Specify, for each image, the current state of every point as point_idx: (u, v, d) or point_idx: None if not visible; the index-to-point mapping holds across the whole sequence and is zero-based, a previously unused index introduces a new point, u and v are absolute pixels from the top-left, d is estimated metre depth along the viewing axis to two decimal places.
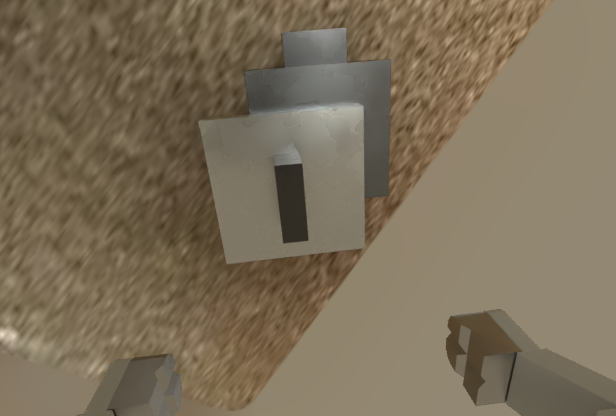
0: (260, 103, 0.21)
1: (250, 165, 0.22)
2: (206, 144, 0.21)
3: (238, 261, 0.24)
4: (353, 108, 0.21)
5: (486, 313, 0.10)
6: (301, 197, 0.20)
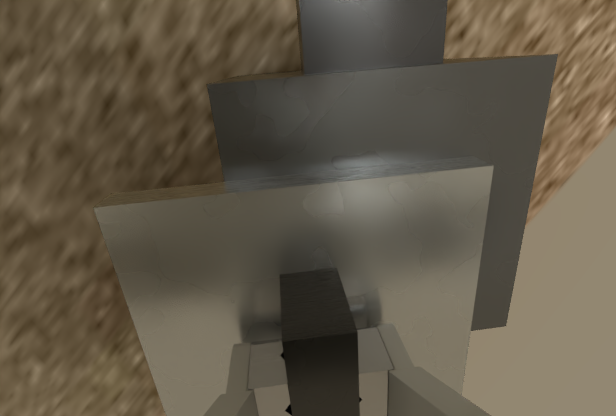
0: (247, 157, 0.09)
1: (226, 297, 0.09)
2: (119, 258, 0.09)
3: None
4: (469, 171, 0.09)
5: (375, 328, 0.09)
6: (350, 401, 0.08)
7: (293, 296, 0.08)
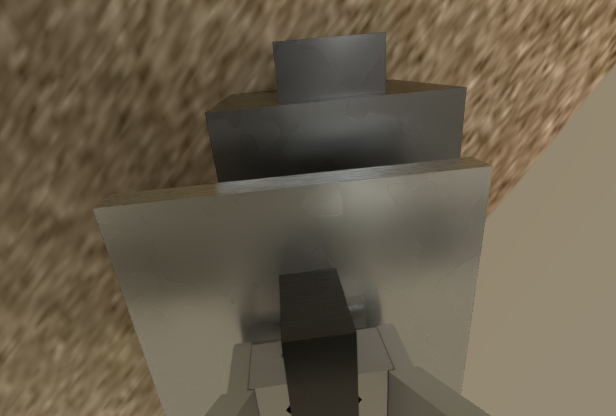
0: (235, 165, 0.12)
1: (225, 297, 0.09)
2: (118, 258, 0.09)
3: None
4: (468, 171, 0.09)
5: (374, 328, 0.09)
6: (349, 402, 0.08)
7: (292, 297, 0.08)
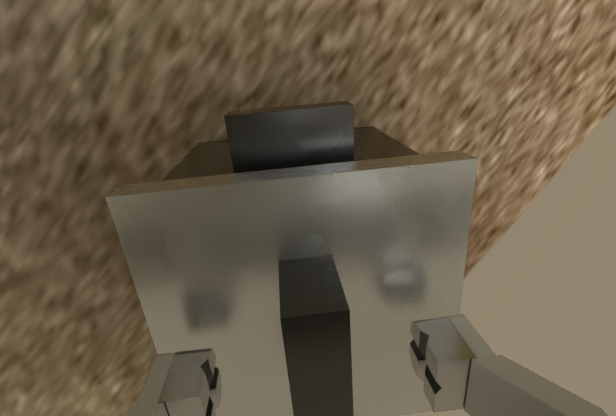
0: None
1: (228, 282, 0.10)
2: (129, 244, 0.09)
3: None
4: (455, 163, 0.09)
5: (446, 319, 0.10)
6: (343, 376, 0.09)
7: (291, 280, 0.09)
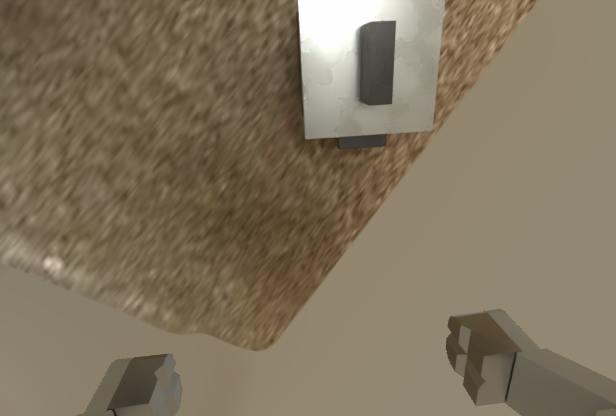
0: None
1: (338, 35, 0.23)
2: (302, 9, 0.23)
3: (316, 137, 0.26)
4: None
5: (486, 314, 0.10)
6: (391, 57, 0.22)
7: None
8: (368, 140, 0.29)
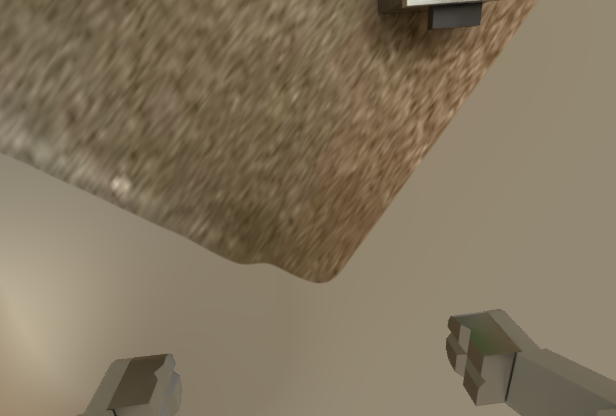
0: None
1: None
2: None
3: (418, 3, 0.25)
4: None
5: (486, 313, 0.10)
6: None
7: None
8: (462, 18, 0.28)
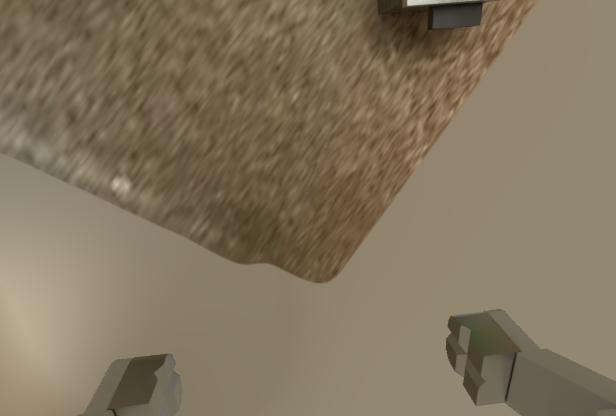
0: None
1: None
2: None
3: (418, 3, 0.25)
4: None
5: (485, 313, 0.10)
6: None
7: None
8: (462, 18, 0.28)
